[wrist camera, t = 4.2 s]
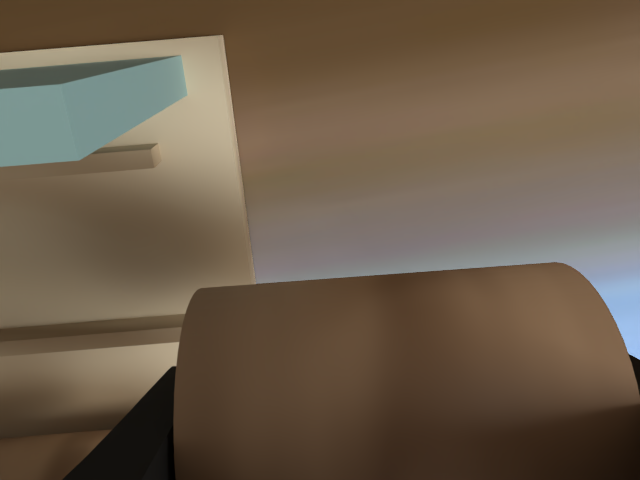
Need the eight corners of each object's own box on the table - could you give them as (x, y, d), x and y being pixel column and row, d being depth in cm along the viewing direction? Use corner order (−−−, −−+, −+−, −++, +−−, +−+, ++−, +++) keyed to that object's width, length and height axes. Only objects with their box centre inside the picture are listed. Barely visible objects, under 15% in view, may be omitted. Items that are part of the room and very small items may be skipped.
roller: (517, 433, 11) (636, 609, 7) (238, 454, 11) (198, 643, 7) (519, 238, 10) (656, 313, 6) (215, 260, 10) (156, 349, 6)
